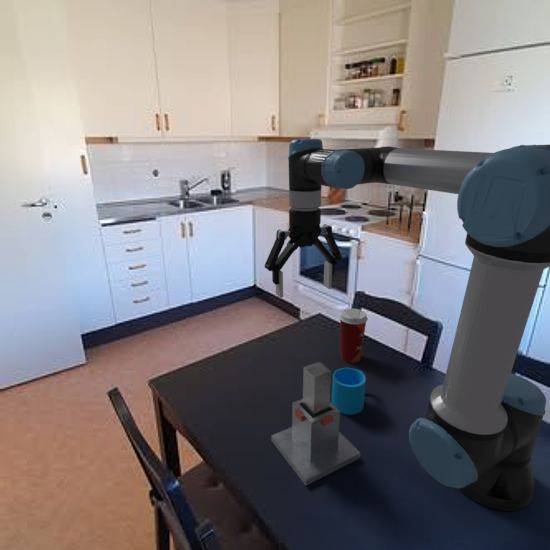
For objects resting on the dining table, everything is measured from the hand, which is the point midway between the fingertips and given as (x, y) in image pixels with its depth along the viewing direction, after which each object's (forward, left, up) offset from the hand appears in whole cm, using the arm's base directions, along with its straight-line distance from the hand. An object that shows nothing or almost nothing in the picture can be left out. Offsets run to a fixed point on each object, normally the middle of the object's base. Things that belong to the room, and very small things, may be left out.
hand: (304, 291), depth 102 cm
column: (-22, +11, -26) cm, 35 cm away
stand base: (-22, +11, -28) cm, 37 cm away
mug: (-13, -7, -28) cm, 31 cm away
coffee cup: (+3, -20, -28) cm, 34 cm away
